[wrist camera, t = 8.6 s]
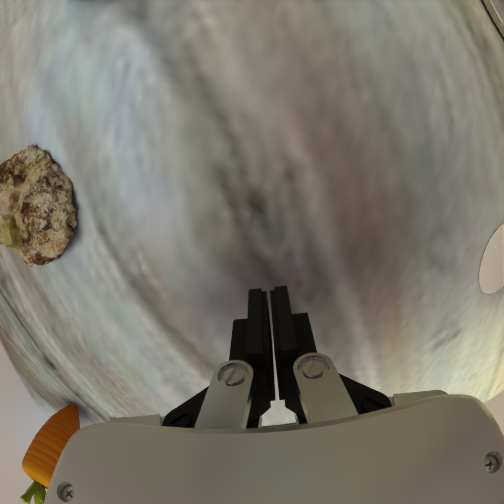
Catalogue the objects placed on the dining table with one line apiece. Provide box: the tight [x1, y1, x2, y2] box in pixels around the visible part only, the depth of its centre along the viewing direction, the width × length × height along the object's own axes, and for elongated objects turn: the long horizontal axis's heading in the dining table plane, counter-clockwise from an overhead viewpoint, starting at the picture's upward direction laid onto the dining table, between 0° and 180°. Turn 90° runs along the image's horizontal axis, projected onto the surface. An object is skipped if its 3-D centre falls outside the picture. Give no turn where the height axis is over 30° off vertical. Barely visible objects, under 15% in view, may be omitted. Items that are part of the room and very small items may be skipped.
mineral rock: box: [0, 145, 77, 267], centre depth 13 cm, size 11×4×8 cm
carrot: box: [20, 404, 80, 504], centre depth 15 cm, size 5×5×15 cm
